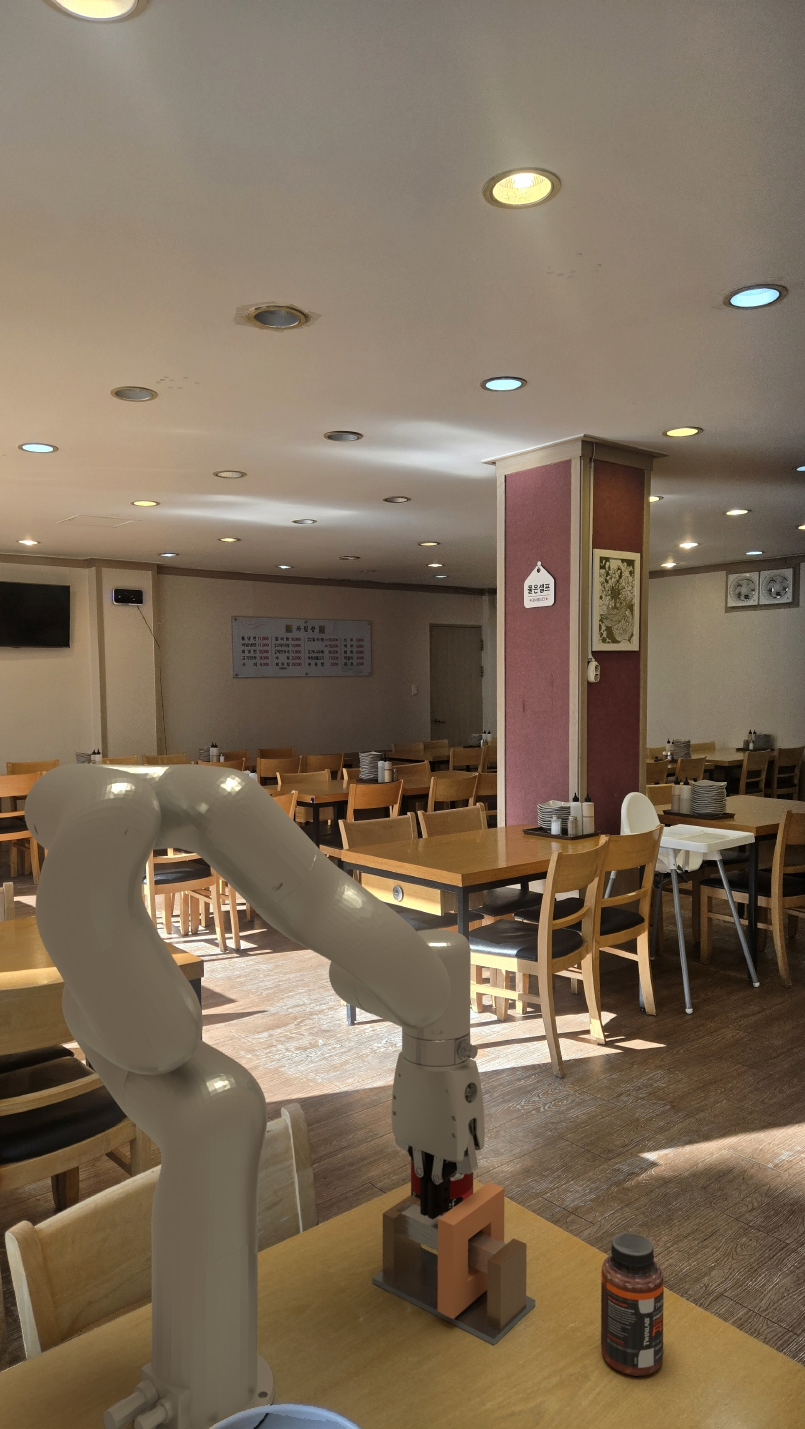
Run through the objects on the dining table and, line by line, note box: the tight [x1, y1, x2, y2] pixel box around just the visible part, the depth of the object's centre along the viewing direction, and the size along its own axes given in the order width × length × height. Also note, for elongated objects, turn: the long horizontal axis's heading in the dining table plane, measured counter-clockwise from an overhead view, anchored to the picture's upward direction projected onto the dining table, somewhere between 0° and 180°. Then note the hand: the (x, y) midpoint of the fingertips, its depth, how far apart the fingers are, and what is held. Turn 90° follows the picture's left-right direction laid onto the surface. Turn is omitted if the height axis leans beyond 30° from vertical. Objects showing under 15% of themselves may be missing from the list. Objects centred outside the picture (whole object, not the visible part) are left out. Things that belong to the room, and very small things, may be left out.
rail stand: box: [371, 1194, 536, 1346], centre depth 101 cm, size 16×8×7 cm, turn 51°
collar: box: [437, 1181, 505, 1319], centre depth 99 cm, size 2×10×10 cm, turn 141°
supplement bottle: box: [600, 1232, 665, 1377], centre depth 91 cm, size 6×6×11 cm
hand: (434, 1211), depth 102 cm, fingers closed
